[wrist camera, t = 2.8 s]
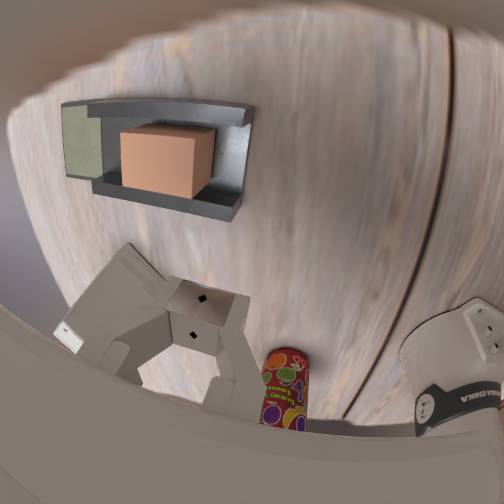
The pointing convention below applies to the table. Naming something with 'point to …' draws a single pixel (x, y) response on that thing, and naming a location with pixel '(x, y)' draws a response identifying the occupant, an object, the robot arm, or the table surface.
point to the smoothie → (285, 390)
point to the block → (167, 158)
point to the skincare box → (110, 296)
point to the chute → (159, 112)
